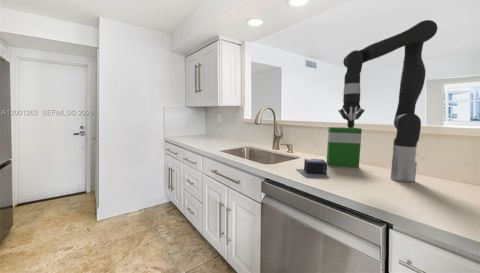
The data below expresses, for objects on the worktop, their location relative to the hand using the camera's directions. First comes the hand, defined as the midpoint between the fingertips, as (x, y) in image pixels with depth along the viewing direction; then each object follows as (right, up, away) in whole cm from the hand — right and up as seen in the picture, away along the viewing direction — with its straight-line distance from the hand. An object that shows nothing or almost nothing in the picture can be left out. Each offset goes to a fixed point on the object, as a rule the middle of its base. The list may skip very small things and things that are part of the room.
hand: (350, 128), depth 112 cm
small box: (-9, -21, +9) cm, 25 cm away
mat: (-17, -24, +8) cm, 31 cm away
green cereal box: (+9, -23, +29) cm, 38 cm away
